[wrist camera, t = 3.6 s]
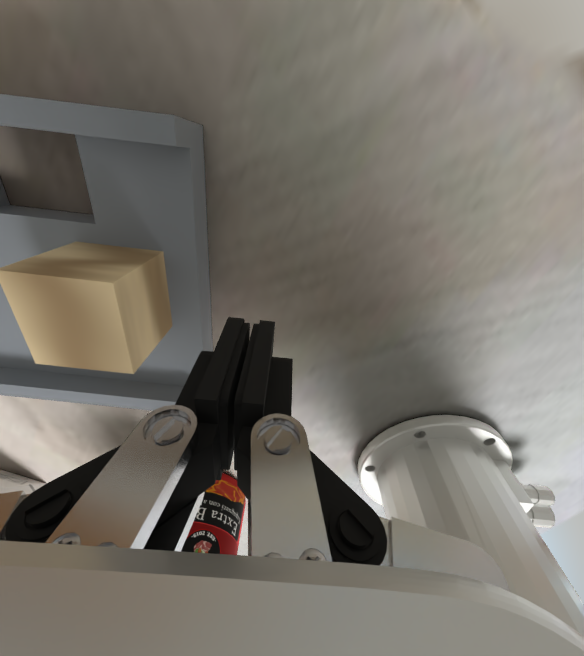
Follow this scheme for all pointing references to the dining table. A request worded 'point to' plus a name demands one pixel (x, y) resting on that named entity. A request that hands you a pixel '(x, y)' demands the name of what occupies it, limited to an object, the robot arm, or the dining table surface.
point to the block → (90, 305)
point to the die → (17, 483)
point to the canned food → (218, 519)
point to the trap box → (116, 243)
